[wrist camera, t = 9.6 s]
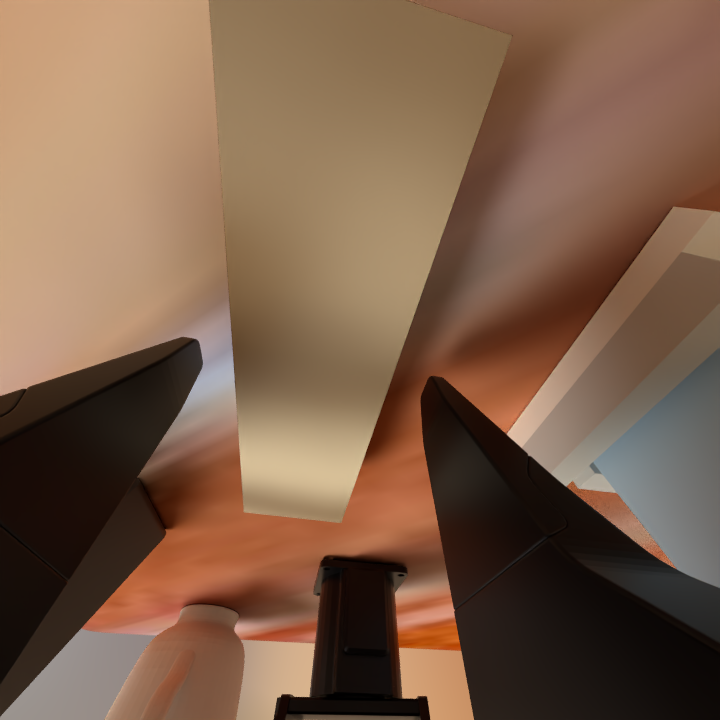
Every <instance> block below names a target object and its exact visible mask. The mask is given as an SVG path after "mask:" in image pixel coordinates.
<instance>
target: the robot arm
mask: <svg viewBox="0 0 720 720" xmlns="http://www.w3.org/2000/svg"><path fill="white" fill-rule="evenodd" d="M202 365H203V360H202V355H201V349H200V344H199V342H198V340H197V339H193V338H187V337H180V338H177V339H174V340H171V341H168V342H165V343H162V344H159V345H156V346H153V347H150V348H147V349H144V350H140V351H137V352H134V353H131V354H128V355H125V356H122V357H119V358H116V359H113V360H110V361H107V362H104V363H101V364H98V365H94V366H91V367H88V368H85V369H82V370H79V371H76V372H73V373H70V374H67V375H64V376H61V377H58V378H55V379H52V380H48V381H45V382H42V383H39V384H36V385H33V386H30V387H28V388H27V389H21V390H17V391H14V392H11V393H8V394H5V395H2V396H0V686H1V684H2V683H3V681H4V680H5V678H6V676H7V675H8V673H9V672H10V670H11V669H12V667H13V666H14V664H15V663H16V661H17V660H18V658H19V657H20V655H21V654H22V652H23V651H24V649H25V648H26V646H27V644H28V643H29V641H30V640H31V638H32V637H33V635H34V634H35V632H36V631H37V629H38V628H39V626H40V625H41V623H42V622H43V620H44V619H45V617H46V616H47V614H48V613H49V611H50V609H51V608H52V606H53V605H54V603H55V602H56V600H57V599H58V597H59V596H60V594H61V593H62V591H63V590H64V588H65V587H66V585H67V583H68V582H67V581H68V580H70V578H71V577H72V575H73V574H74V572H75V571H76V569H77V568H78V566H79V565H80V563H81V562H82V560H83V559H84V557H85V556H86V554H87V553H88V551H89V550H90V548H91V546H92V545H93V543H94V542H95V540H96V539H97V537H98V536H99V534H100V533H101V531H102V530H103V528H104V527H105V525H106V524H107V522H108V521H109V519H110V518H111V516H112V515H113V513H114V511H115V510H116V508H117V507H118V505H119V504H120V502H121V501H122V499H123V498H124V496H125V495H126V493H127V492H128V490H129V489H130V487H131V486H132V484H133V483H134V481H135V479H136V478H137V476H138V475H139V473H140V472H141V470H142V469H143V467H144V466H145V464H146V463H147V461H148V460H149V458H150V457H151V455H152V454H153V452H154V451H155V449H156V447H157V446H158V444H159V443H160V441H161V440H162V438H163V437H164V435H165V434H166V432H167V431H168V429H169V428H170V426H171V425H172V423H173V422H174V420H175V419H176V417H177V415H178V414H179V412H180V411H181V409H182V407H183V405H184V403H185V401H186V399H187V397H188V395H189V393H190V391H191V389H192V387H193V385H194V383H195V381H196V379H197V377H198V375H199V373H200V371H201V369H202ZM421 417H422V433H423V444H424V450H425V455H426V461H427V466H428V472H429V477H430V482H431V488H432V493H433V499H434V504H435V509H436V515H437V520H438V526H439V531H440V536H441V542H442V547H443V553H444V558H445V563H446V569H447V574H448V580H449V585H450V590H451V596H452V601H453V607H454V609H455V611H454V613H455V619H456V624H457V629H458V635H459V640H460V646H461V651H462V656H463V661H464V667H465V672H466V678H467V683H468V689H469V694H470V699H471V705H472V710H473V716H474V720H720V588H718V587H716V586H713V585H711V584H708V583H706V582H703V581H701V580H698V579H696V578H694V577H691V576H689V575H687V574H685V573H683V572H681V571H679V570H677V569H675V568H673V567H671V566H669V565H668V564H666V563H664V562H662V561H661V560H659V559H658V558H656V557H655V556H653V555H652V554H650V553H649V552H648V551H646V550H645V549H644V548H642V547H641V546H640V545H638V544H637V543H636V542H635V541H633V540H632V539H631V538H630V537H628V536H627V535H626V534H625V533H623V532H622V531H621V530H620V529H618V528H617V527H616V526H615V525H613V524H612V523H611V522H610V521H608V520H607V519H606V518H604V517H603V516H602V515H601V514H599V513H598V512H597V511H596V510H594V509H593V508H592V507H591V506H589V505H588V504H587V503H586V502H584V501H583V500H582V499H581V498H579V497H578V496H577V495H576V494H575V493H573V492H572V491H571V490H570V489H568V488H567V487H566V486H565V485H564V484H562V483H561V482H560V481H559V480H558V479H556V478H555V477H554V476H553V475H552V474H551V473H549V472H548V471H547V470H546V469H545V468H544V467H543V466H541V465H540V464H539V463H538V462H537V461H536V460H535V459H534V458H533V457H531V456H528V453H527V452H526V451H525V450H523V449H522V448H521V447H520V446H519V445H518V444H517V443H516V442H514V441H513V440H512V439H511V438H510V437H509V436H508V435H507V434H506V433H504V432H503V431H502V430H501V429H500V428H499V427H498V426H497V425H495V424H494V423H493V422H492V421H491V420H490V419H489V418H488V417H486V416H485V415H484V414H483V413H482V412H481V411H480V410H479V409H477V408H476V407H475V406H474V405H473V404H472V403H471V402H470V401H469V400H467V399H466V398H465V397H464V396H463V395H462V394H461V393H460V392H458V391H457V390H456V389H455V388H454V387H453V386H452V385H451V384H449V383H448V382H447V381H446V380H445V379H444V378H442V377H436V376H430V377H429V378H428V380H427V382H426V385H425V387H424V390H423V392H422V395H421ZM407 576H408V572H407V568H406V567H404V566H394V565H383V564H371V563H360V562H349V561H337V560H322V561H321V562H320V566H319V570H318V574H317V578H316V582H315V586H314V593H313V594H314V595H316V596H320V602H319V611H318V621H317V631H316V640H315V650H314V660H313V670H312V679H311V688H310V697H294V696H293V695H290V694H282V695H281V697H279V698H277V703H276V709H275V715H274V720H430V714H429V707H428V701H427V697H426V696H418V697H417V698H416V699H402V687H401V674H400V659H399V646H398V632H397V618H396V604H395V592H396V590H397V589H398V588H399V586H400V585H401V584H402V582H403V581H404V580H405V579H406V577H407Z"/></svg>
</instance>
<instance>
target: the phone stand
mask: <svg viewBox="0 0 720 720" xmlns="http://www.w3.org/2000/svg"><path fill="white" fill-rule="evenodd" d="M165 535H166V531H165V529H164V527H163V525H162V523H161V521H160V519H159V517H158V515H157V513H156V511H155V509H154V507H153V505H152V503H151V501H150V500H149V498H148V496H147V494H146V492H145V490H144V488H143V486H142V484H141V482H140V480H139V479H138V478H136V479H135V481H134V483H133V484H132V486H131V487H130V489H129V490H128V492H127V493H126V495H125V496H124V498H123V499H122V501H121V502H120V504H119V505H118V507H117V508H116V510H115V511H114V513H113V515H112V516H111V518H110V519H109V521H108V522H107V524H106V525H105V527H104V528H103V530H102V531H101V533H100V534H99V536H98V537H97V539H96V540H95V542H94V543H93V545H92V546H91V548H90V550H89V551H88V553H87V554H86V556H85V557H84V559H83V560H82V562H81V563H80V565H79V566H78V568H77V569H76V571H75V572H74V574H73V575H72V577H71V578H70V580H68V581H67V582H68V583H67V585H66V587H65V588H64V590H63V591H62V593H61V594H60V596H59V597H58V599H57V600H56V602H55V603H54V605H53V606H52V608H51V609H50V611H49V613H48V614H47V616H46V617H45V619H44V620H43V622H42V623H41V625H40V626H39V628H38V629H37V631H36V632H35V634H34V635H33V637H32V638H31V640H30V641H29V643H28V644H27V646H26V648H25V649H24V651H23V652H22V654H21V655H20V657H19V658H18V660H17V661H16V663H15V664H14V666H13V667H12V669H11V670H10V672H9V673H8V675H7V676H6V678H5V680H4V681H3V683H2V684H1V686H0V716H1V715H2V714H3V713H4V712H5V711H6V709H8V707H9V706H10V705H11V704H12V703H13V702H14V701H15V700H16V699H17V698H18V697H19V695H20V694H21V693H22V692H23V691H24V690H25V689H26V688H27V687H28V686H29V685H30V683H31V682H32V681H33V680H34V679H35V678H36V677H37V675H39V674H40V673H41V671H42V670H43V669H44V668H45V667H46V666H47V665H48V664H49V663H50V662H51V661H52V659H53V658H54V657H55V656H56V655H57V654H58V653H59V652H60V651H61V650H62V649H63V647H64V646H65V645H66V644H67V643H68V642H69V641H70V640H71V639H72V638H73V636H74V635H75V634H76V633H77V632H78V631H79V630H80V629H81V628H82V627H83V626H84V625H85V623H86V622H87V621H88V620H89V619H90V618H91V617H92V616H93V615H94V614H95V612H96V611H97V610H98V609H99V608H100V607H101V606H102V605H103V604H104V603H105V602H106V600H107V599H108V598H109V597H110V596H111V595H112V594H113V593H114V592H115V591H116V590H117V588H118V587H119V586H120V585H121V584H122V583H123V582H124V581H125V580H126V579H127V578H128V576H129V575H130V574H131V573H132V572H133V571H134V570H135V569H136V568H137V567H138V566H139V564H140V563H141V562H142V561H143V560H144V559H145V558H146V557H147V556H148V555H149V554H150V552H151V551H152V550H153V549H154V548H155V547H156V546H157V545H158V544H159V543H160V542H161V540H162V539H163V538H164V537H165Z"/></svg>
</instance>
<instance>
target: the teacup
mask: <svg viewBox="0 0 720 720" xmlns="http://www.w3.org/2000/svg"><path fill="white" fill-rule="evenodd" d="M238 618H239V615H238V613H237V612H235V611H233V610H231V609H229V608H225V607H221V606H215V605H204V604H196V605H189V606H186V607H184V608H182V610H181V612H180V616H179V620H178V622H177V624H175V625H174V626H172V627H170V628H169V629H167V630H165V631H163V632H162V633H160V634H159V635H157V636H156V637H155V638H154V639H153V640H152V641H151V642H150V644H149V645H148V646H147V647H146V649H145V650H144V652H143V653H142V655H141V656H140V658H139V659H138V661H137V663H136V664H135V666H134V668H133V669H132V671H131V672H130V674H129V676H128V678H127V680H126V681H125V683H124V685H123V687H122V689H121V690H120V692H119V694H118V696H117V698H116V699H115V701H114V703H113V705H112V707H111V708H110V710H109V712H108V714H107V716H106V717H105V719H104V720H236V716H237V710H238V703H239V697H240V691H241V685H242V679H243V670H244V657H245V655H244V647H243V643H242V642H241V640H240V638H239V637H238V636H237V634H236V633H235V631H234V628H235V625H236V623H237V621H238Z"/></svg>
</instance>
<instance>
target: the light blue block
mask: <svg viewBox="0 0 720 720" xmlns="http://www.w3.org/2000/svg"><path fill="white" fill-rule="evenodd" d="M593 463H594V464H595V465H596V467H597V468H598V469H599V471H600V472H601V473H602V474H603V476H604V477H605V478H606V479H607V481H608V482H609V483H610V485H611V486H612V487H613V488H614V490H615V491H616V492H617V493H618V495H619V496H620V497H621V498H622V500H623V501H624V502H625V504H626V505H627V506H628V507H629V509H630V510H631V511H632V512H633V514H634V515H635V516H636V518H637V519H638V520H639V521H640V523H641V524H642V525H643V526H644V528H645V529H646V530H647V531H648V533H649V534H650V535H651V537H652V538H653V539H654V540H655V542H656V543H657V544H658V545H659V547H660V548H661V549H662V551H663V552H664V553H665V554H666V556H667V557H668V558H669V559H670V561H671V562H672V563H673V565H674V566H675V567H676V568H677V570H679V571H681V572H683V573H685V574H687V575H689V576H691V577H694V578H696V579H698V580H701V581H703V582H706V583H708V584H711V585H713V586H716V587H718V588H720V347H719V348H718V349H717V350H716V351H715V352H713V353H712V354H711V355H710V356H709V357H708V358H707V359H706V360H705V361H704V362H702V363H701V364H700V365H699V366H698V367H697V368H696V369H695V370H694V371H693V372H691V373H690V374H689V375H688V376H687V377H686V378H685V379H684V380H683V381H682V382H680V383H679V384H678V385H677V386H676V387H675V388H674V389H673V390H672V391H671V392H669V393H668V394H667V395H666V396H665V397H664V398H663V399H662V400H661V401H660V402H658V403H657V404H656V405H655V406H654V407H653V408H652V409H651V410H650V411H649V412H647V413H646V414H645V415H644V416H643V417H642V418H641V419H640V420H639V421H638V422H636V423H635V424H634V425H633V426H632V427H631V428H630V429H629V430H628V431H627V432H625V433H624V434H623V435H622V436H621V437H620V438H619V439H618V440H617V441H616V442H614V443H613V444H612V445H611V446H610V447H609V448H608V449H607V450H606V451H605V452H603V453H602V454H601V455H600V456H599V457H598V458H597V459H596V460H595V461H594V462H593Z"/></svg>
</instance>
